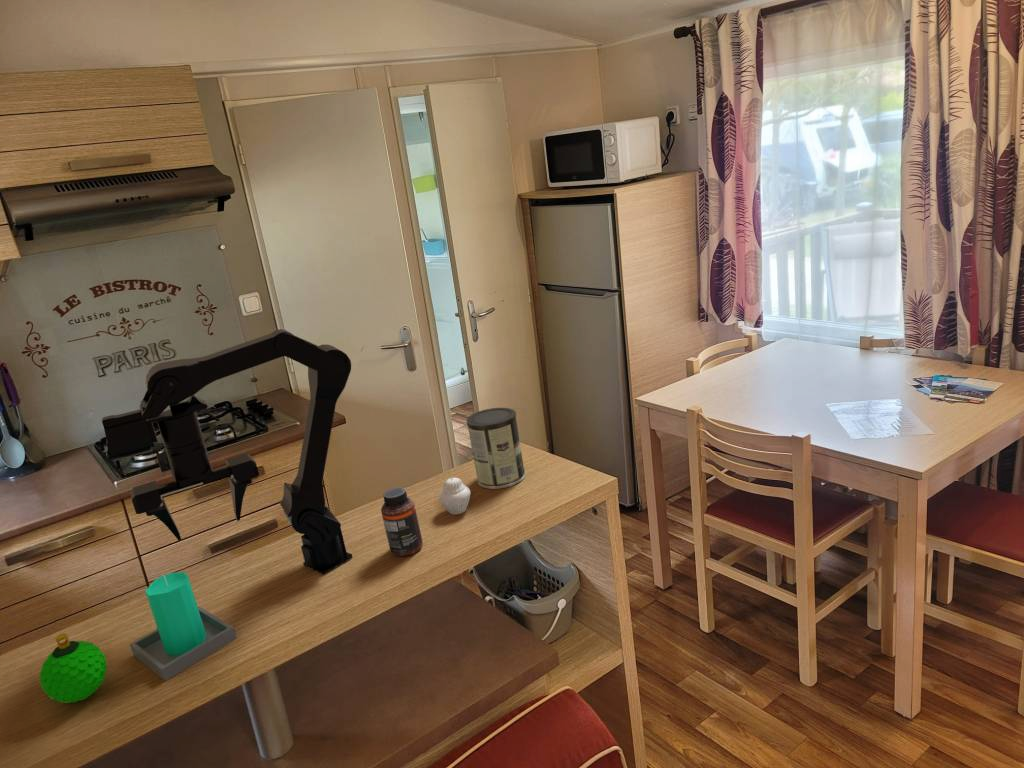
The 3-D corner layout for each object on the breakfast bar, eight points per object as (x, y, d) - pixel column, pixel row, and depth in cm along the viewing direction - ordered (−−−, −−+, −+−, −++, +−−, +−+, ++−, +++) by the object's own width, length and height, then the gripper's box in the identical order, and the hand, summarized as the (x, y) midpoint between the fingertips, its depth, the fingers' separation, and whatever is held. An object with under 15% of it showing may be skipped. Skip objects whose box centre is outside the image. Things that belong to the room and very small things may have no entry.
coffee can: (500, 465, 164) (490, 404, 160) (535, 473, 157) (526, 410, 153) (466, 483, 157) (455, 421, 153) (501, 493, 150) (490, 428, 146)
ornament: (106, 669, 111) (86, 611, 108) (120, 693, 105) (99, 632, 102) (46, 698, 107) (22, 639, 104) (56, 725, 100) (32, 663, 98)
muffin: (435, 513, 146) (429, 480, 144) (460, 500, 149) (454, 468, 147) (454, 521, 141) (448, 487, 139) (479, 508, 145) (474, 475, 143)
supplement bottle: (410, 537, 137) (398, 481, 134) (430, 546, 133) (418, 488, 130) (383, 552, 134) (371, 495, 130) (403, 561, 129) (390, 502, 126)
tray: (202, 616, 122) (199, 606, 121) (236, 638, 114) (233, 626, 114) (133, 655, 114) (129, 644, 113) (165, 681, 106) (161, 669, 106)
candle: (190, 627, 118) (169, 560, 114) (214, 635, 115) (193, 566, 111) (156, 650, 113) (133, 581, 110) (180, 659, 110) (157, 588, 106)
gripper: (235, 413, 129) (256, 495, 133) (116, 446, 120) (144, 532, 125) (247, 429, 119) (270, 516, 124) (120, 465, 111) (150, 557, 115)
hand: (209, 529), depth 122 cm, fingers open, 9 cm apart
